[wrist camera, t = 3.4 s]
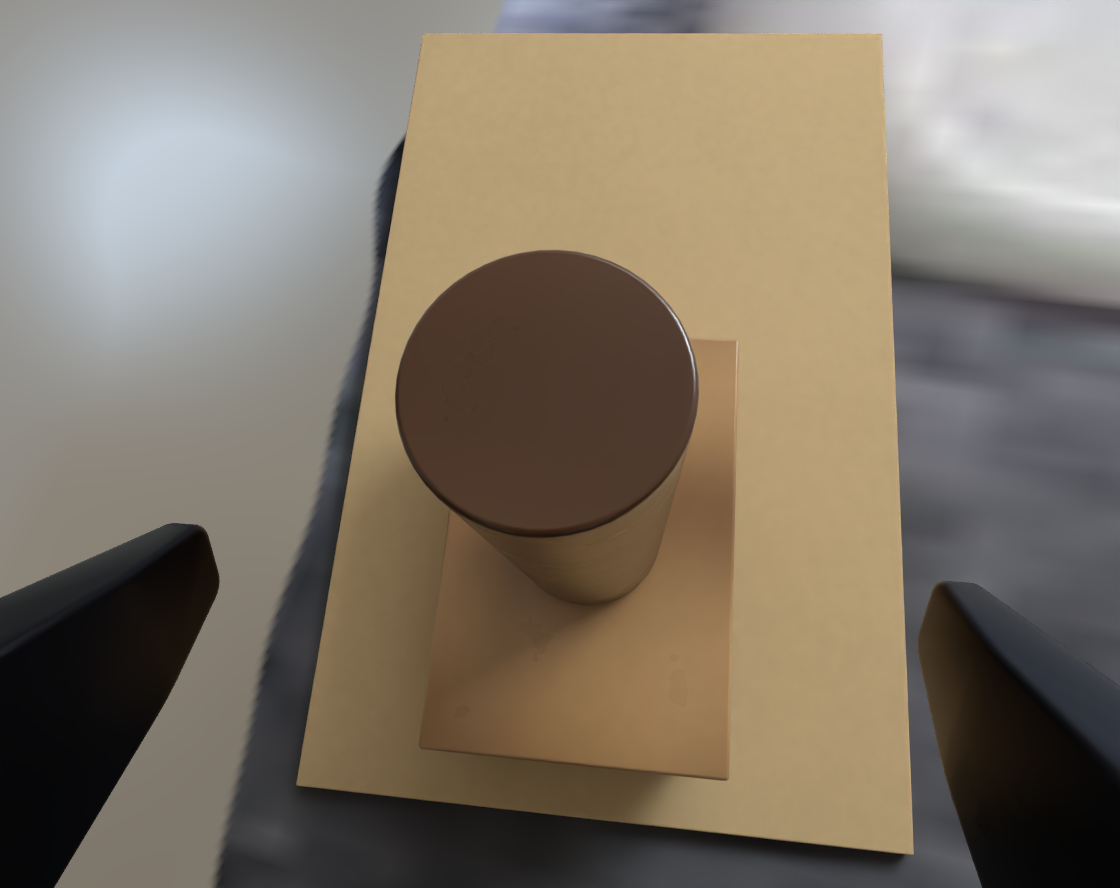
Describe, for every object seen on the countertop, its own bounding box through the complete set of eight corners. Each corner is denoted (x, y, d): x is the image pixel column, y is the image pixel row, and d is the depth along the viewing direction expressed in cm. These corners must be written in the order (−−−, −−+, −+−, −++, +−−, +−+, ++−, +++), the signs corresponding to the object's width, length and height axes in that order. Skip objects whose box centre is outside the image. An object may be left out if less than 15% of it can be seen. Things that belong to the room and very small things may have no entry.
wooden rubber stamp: (711, 760, 17) (877, 953, 6) (453, 734, 18) (145, 860, 6) (721, 389, 19) (853, 12, 8) (495, 378, 20) (327, 13, 9)
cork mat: (909, 852, 16) (914, 855, 16) (300, 783, 18) (295, 786, 18) (878, 41, 22) (881, 33, 22) (425, 40, 24) (422, 32, 24)
